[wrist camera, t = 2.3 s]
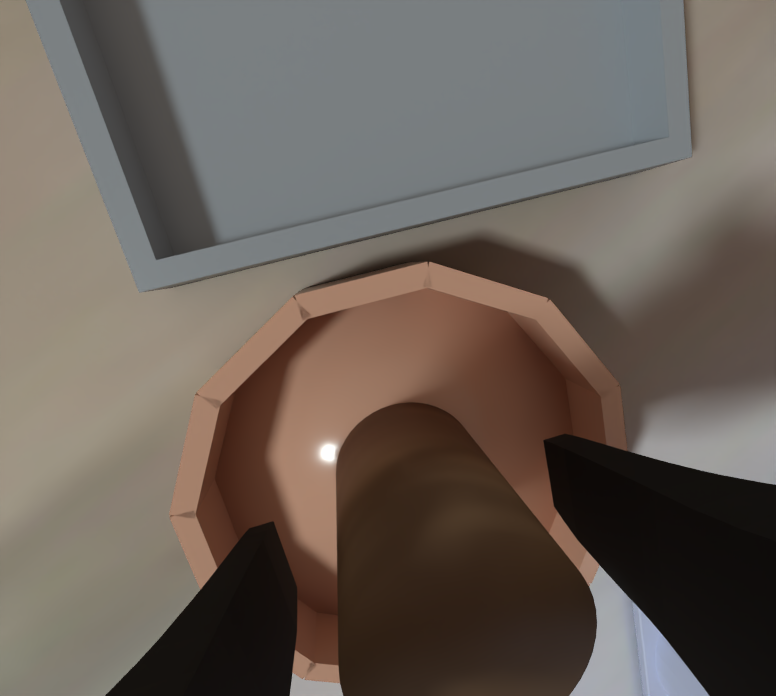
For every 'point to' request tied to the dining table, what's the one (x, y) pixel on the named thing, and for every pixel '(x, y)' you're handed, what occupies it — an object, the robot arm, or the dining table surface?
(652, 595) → the robot arm
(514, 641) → the walnut cylinder
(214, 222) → the slate-grey tray
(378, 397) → the terracotta dish
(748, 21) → the dining table surface
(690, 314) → the dining table surface
